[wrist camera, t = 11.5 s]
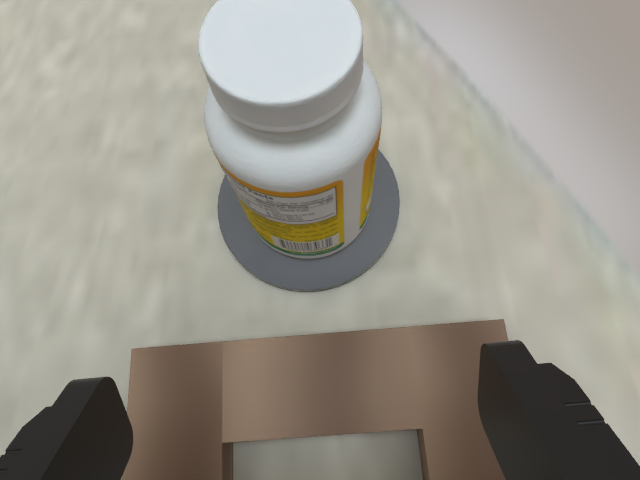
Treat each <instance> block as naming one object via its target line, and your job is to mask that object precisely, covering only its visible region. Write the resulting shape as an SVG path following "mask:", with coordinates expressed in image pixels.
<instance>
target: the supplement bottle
mask: <svg viewBox="0 0 640 480" xmlns="http://www.w3.org/2000/svg"><path fill="white" fill-rule="evenodd" d="M198 50H199V57H200V61H201V64H202V67H203V70H204V72H205V75H206V77H207V80H208V82H209V84H210V86H209V88H208V92H207V95H206V99H205V105H204V124H205V130H206V134H207V137H208V140H209V143H210V145H211V148H212V150H213V152H214V154H215V156H216V158H217V159H218V161H219V163H220V165H221V167H222V169H223V171H224V173H225V175H226V177H227V179H228V181H229V183H230V185H231V187H232V188H233V190H234V192H235V193H236V195H237V197H238V199H239V201H240V203H241V205H242V207H243V209H244V211H245V213H246V215H247V217H248V219H249V221H250V223H251V225H252V227H253V228H254V230H255V232H256V233H257V234H258V236H259V237H260V238H261V239H262V240H263V241H264V242H265V243H266V244H267V245H268V246H270V247H271V248H272V249H274V250H276V251H278V252H280V253H282V254H285V255H287V256H291V257H295V258H302V259H313V258H321V257H325V256H328V255H331V254H333V253H336V252H338V251H340V250H341V249H343V248H344V247H346V246H347V245H348V244H350V243H351V242H352V241H353V240H354V239H355V238H356V237H357V236H358V234H359V233H360V232H361V230H362V229H363V227H364V225H365V223H366V221H367V218H368V215H369V211H370V205H371V198H372V190H373V182H374V174H375V167H376V159H377V153H378V146H379V140H380V131H381V122H382V100H381V94H380V90H379V86H378V83H377V81H376V78H375V76H374V74H373V72H372V71H371V69H370V67H369V66H368V65H367V63H366V62H365V61H364V60H363V30H362V23H361V19H360V17H359V15H358V12H357V10H356V9H355V7H354V5H353V4H352V3H351V1H350V0H218V1H217V2H216V3H215V4H214V5H213V6H212V8H211V9H210V10H209V12H208V14H207V15H206V17H205V19H204V21H203V24H202V27H201V30H200V33H199V40H198Z"/></svg>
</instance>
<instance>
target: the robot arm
mask: <svg viewBox="0 0 640 480" xmlns="http://www.w3.org/2000/svg"><path fill="white" fill-rule="evenodd" d="M478 409H479V414H480V419H481V422H482V425H483V428H484V431H485V433H486V435H487V438H488V440H489V442H490V445H491V447H492V449H493V452H494V454H495V456H496V458H497V461H498V463H499V465H500V468H501V470H502V472H503V475H504V477H505V479H506V480H640V466H639V465H638V463H637V462H636V461H635V459H634V458H633V457H632V455H631V454H630V453H629V451H628V450H627V449H626V447H625V446H624V445H623V443H622V442H621V441H620V439H619V438H618V437H617V435H616V434H615V433H614V431H613V430H612V429H611V428H610V426H609V425H608V424H605V422H604V418H603V417H602V416H601V414H600V413H599V412H598V410H597V409H596V408H595V406H594V405H591V402H590V400H589V398H588V397H587V396H586V394H585V393H584V392H583V390H582V389H581V388H580V386H579V385H578V384H577V382H576V381H575V380H574V379H573V378H571V377H570V376H569V375H567V374H566V373H564V372H563V371H562V370H560V369H559V368H557V367H556V366H555V365H553V364H552V363H543V364H537V363H536V361H535V360H534V358H533V357H532V355H531V354H530V352H529V351H528V350H527V348H526V347H525V345H524V344H523V343H522V342H521V341H519V340H515V341H504V342H493V343H484V344H482V346H481V349H480V364H479V381H478ZM132 448H133V429H132V426H131V423H130V420H129V418H128V415H127V412H126V410H125V407H124V405H123V402H122V399H121V397H120V394H119V391H118V389H117V386H116V384H115V382H114V380H113V379H112V378H110V377H99V378H88V379H77V380H73V381H71V382H69V383H68V384H67V386H66V387H65V388H64V390H63V391H62V393H61V394H60V396H59V397H58V398H57V400H56V401H55V403H54V404H53V406H51V407H46V408H44V409H43V410H42V411H41V412H40V413H39V414H37V415H36V416H35V417H34V418H33V419H32V420H30V421H29V422H28V423H27V424H26V425H25V426H23V427H22V429H21V430H20V431H19V433H18V434H17V435H16V437H15V438H14V439H13V441H12V442H11V444H10V445H9V446H8V448H7V449H6V453H5V455H2V456H1V457H0V480H121V477H122V475H123V473H124V470H125V468H126V466H127V464H128V461H129V459H130V456H131V453H132Z"/></svg>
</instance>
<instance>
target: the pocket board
mask: <svg viewBox="0 0 640 480" xmlns="http://www.w3.org/2000/svg"><path fill="white" fill-rule="evenodd" d="M504 341H508V337H507V332H506V328H505V323H504V319H500V320H488V321H475V322H463V323H450V324H438V325H425V326H413V327H400V328H387V329H375V330H362V331H350V332H337V333H325V334H312V335H300V336H287V337H274V338H262V339H249V340H237V341H224V342H212V343H199V344H186V345H174V346H161V347H149V348H136V349H132V352H131V366H130V379H129V393H128V407H127V415H128V418H129V420H130V423H131V426H132V429H133V448H132V453H131V456H130V459H129V461H128V464H127V466H126V468H125V470H124V473H123V475H122V480H233V442H241V441H255V440H269V439H283V438H297V437H311V436H325V435H339V434H353V433H367V432H381V431H395V430H409V429H417V434H418V441H419V449H420V456H421V464H422V471H423V479H424V480H506V479H505V477H504V475H503V472H502V470H501V468H500V465H499V463H498V461H497V458H496V456H495V454H494V452H493V449H492V447H491V445H490V442H489V440H488V438H487V435H486V433H485V431H484V428H483V425H482V422H481V419H480V414H479V409H478V381H479V364H480V349H481V346H482V344H484V343H493V342H504Z"/></svg>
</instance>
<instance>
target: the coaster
mask: <svg viewBox="0 0 640 480" xmlns="http://www.w3.org/2000/svg"><path fill="white" fill-rule="evenodd" d="M399 203H400V202H399V190H398V185H397V181H396V178H395V175H394V173H393V170H392V168H391V167H390V165H389V163H388V161H387V160H386V158H385V157H384V156H383V154H382V153H381V152H380V151H379V150H378V153H377V159H376V167H375V174H374V182H373V190H372V198H371V205H370V211H369V215H368V218H367V221H366V223H365V225H364V227H363V229H362V230H361V232H360V233H359V234H358V236H357V237H356V238H355V239H354V240H353V241H352V242H351V243H350V244H348V245H347V246H346V247H344V248H343V249H341V250H340V251H338V252H336V253H333V254H331V255H328V256H325V257H321V258H313V259H302V258H295V257H291V256H287V255H285V254H282V253H280V252H278V251H276V250H274V249H272V248H271V247H270V246H268V245H267V244H266V243H265V242H264V241H263V240H262V239H261V238H260V237H259V236H258V234H257V233H256V232H255V230H254V228H253V227H252V225H251V223H250V221H249V219H248V217H247V215H246V213H245V211H244V209H243V207H242V205H241V203H240V201H239V199H238V197H237V195H236V193H235V192H234V190H233V188H232V187H231V185H230V183H229V181H228V179H227V177H226V175H225V177H224V179H223V182H222V185H221V188H220V193H219V197H218V219H219V224H220V229H221V232H222V234H223V237H224V240H225V242H226V243H227V245H228V247H229V249H230V250H231V252H232V253H233V254H234V256H235V257H236V258H237V260H238V261H239V262H240V263H241V264H242V265H243V266H244V267H245V268H246V269H247V270H248V271H249V272H250V273H252V274H253V275H254V276H256V277H257V278H259V279H261V280H262V281H264V282H266V283H268V284H271V285H273V286H276V287H278V288H282V289H286V290H291V291H300V292H314V291H321V290H327V289H331V288H335V287H338V286H341V285H343V284H345V283H348V282H350V281H352V280H353V279H355V278H357V277H359V276H360V275H362V274H363V273H364V272H365V271H367V270H368V269H369V268H370V267H371V266H372V265H373V264H374V263H375V262H376V261H377V260H378V259H379V258H380V257H381V255H382V254H383V253H384V251H385V250H386V248H387V246H388V244H389V243H390V241H391V239H392V236H393V233H394V231H395V227H396V223H397V219H398V214H399Z"/></svg>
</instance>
